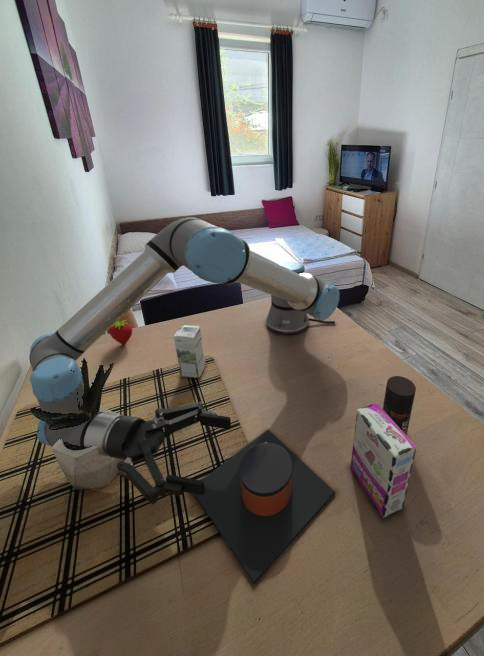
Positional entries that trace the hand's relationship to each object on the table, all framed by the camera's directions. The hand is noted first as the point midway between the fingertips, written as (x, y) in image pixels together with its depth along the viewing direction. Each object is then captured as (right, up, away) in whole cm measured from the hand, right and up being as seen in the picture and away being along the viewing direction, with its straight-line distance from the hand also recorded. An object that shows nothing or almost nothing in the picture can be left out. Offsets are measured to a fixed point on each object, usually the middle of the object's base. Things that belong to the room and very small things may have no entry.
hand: (218, 452), depth 61 cm
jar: (+9, -5, +1) cm, 11 cm away
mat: (+8, -9, +2) cm, 12 cm away
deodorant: (+38, -4, +14) cm, 40 cm away
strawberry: (-41, +10, +46) cm, 63 cm away
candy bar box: (+31, -9, +3) cm, 32 cm away
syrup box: (-15, +5, +34) cm, 37 cm away
